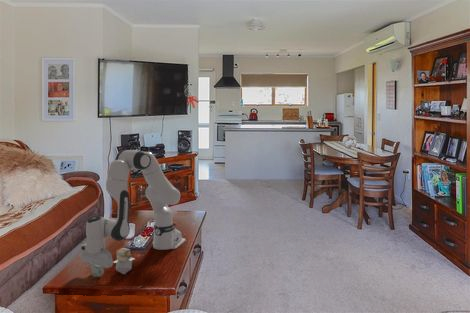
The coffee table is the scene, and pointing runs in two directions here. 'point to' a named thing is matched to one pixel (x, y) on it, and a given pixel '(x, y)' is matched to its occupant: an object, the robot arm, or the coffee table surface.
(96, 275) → the pale green rounded lump
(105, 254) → the robot arm
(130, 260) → the plan card
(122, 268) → the die
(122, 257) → the birch block
